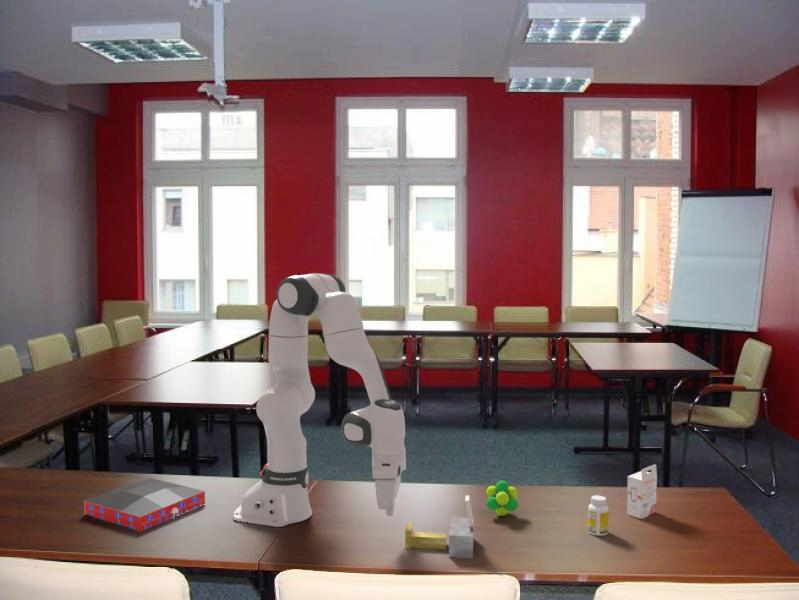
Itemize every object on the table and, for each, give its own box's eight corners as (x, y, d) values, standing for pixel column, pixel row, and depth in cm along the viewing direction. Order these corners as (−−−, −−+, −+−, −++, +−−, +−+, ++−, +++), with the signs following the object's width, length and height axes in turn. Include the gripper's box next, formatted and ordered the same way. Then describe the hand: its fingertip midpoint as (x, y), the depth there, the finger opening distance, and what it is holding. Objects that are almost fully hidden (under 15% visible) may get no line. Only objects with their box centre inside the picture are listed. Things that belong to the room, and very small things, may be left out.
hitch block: (448, 557, 179) (449, 535, 179) (451, 537, 192) (451, 516, 191) (472, 558, 179) (473, 536, 178) (473, 538, 191) (473, 517, 191)
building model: (143, 534, 193) (142, 511, 193) (83, 516, 206) (83, 494, 205) (207, 507, 214) (207, 485, 213) (150, 492, 226) (149, 472, 226)
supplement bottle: (608, 530, 197) (609, 495, 197) (607, 537, 192) (608, 502, 192) (588, 527, 199) (589, 493, 198) (586, 534, 194) (587, 499, 193)
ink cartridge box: (641, 508, 215) (642, 460, 213) (656, 512, 211) (658, 464, 210) (625, 514, 209) (627, 465, 208) (641, 519, 205) (642, 469, 204)
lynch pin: (405, 548, 184) (405, 530, 184) (407, 540, 189) (407, 522, 189) (445, 551, 183) (445, 532, 183) (446, 543, 188) (446, 524, 188)
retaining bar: (469, 529, 183) (465, 500, 182) (470, 523, 186) (465, 495, 186) (473, 529, 182) (468, 500, 182) (473, 523, 186) (469, 495, 186)
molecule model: (501, 498, 214) (483, 486, 211) (520, 488, 210) (502, 476, 207) (501, 520, 208) (483, 508, 205) (520, 510, 204) (502, 498, 201)
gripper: (382, 451, 196) (383, 500, 197) (371, 474, 176) (372, 528, 177) (405, 451, 196) (406, 500, 196) (396, 474, 175) (397, 529, 176)
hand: (390, 514), depth 187 cm, fingers closed
